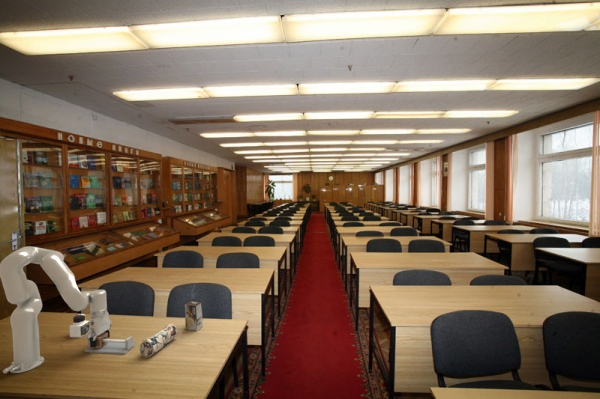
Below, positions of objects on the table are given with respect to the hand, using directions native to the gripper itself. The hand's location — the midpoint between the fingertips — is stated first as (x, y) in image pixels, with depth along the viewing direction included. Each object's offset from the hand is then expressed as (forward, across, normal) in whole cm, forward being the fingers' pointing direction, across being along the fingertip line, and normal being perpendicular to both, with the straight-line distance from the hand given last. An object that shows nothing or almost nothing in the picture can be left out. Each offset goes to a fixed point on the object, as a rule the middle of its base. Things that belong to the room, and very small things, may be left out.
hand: (100, 342), depth 160 cm
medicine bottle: (+4, +13, +25) cm, 28 cm away
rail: (+3, 0, -6) cm, 7 cm away
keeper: (+2, 0, 0) cm, 2 cm away
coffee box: (+4, +27, -42) cm, 50 cm away
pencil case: (+4, +4, -33) cm, 34 cm away
